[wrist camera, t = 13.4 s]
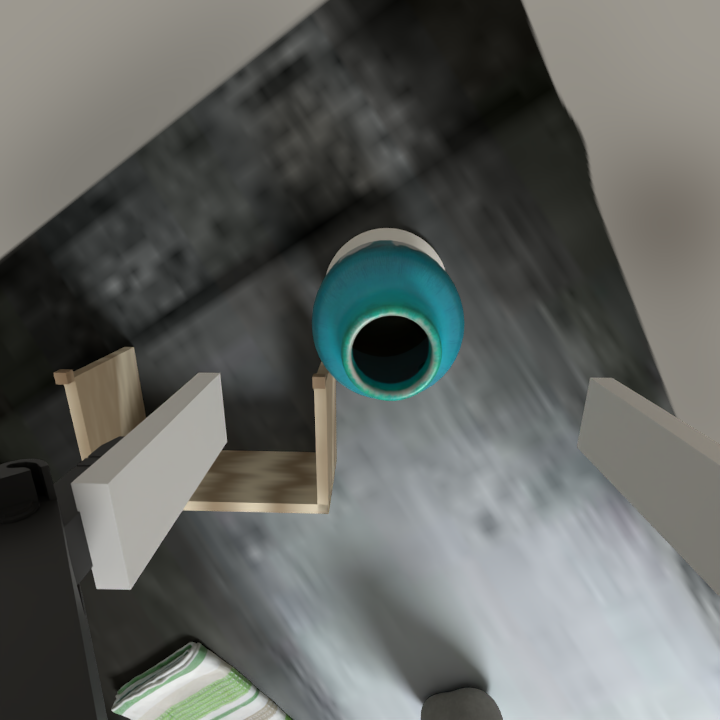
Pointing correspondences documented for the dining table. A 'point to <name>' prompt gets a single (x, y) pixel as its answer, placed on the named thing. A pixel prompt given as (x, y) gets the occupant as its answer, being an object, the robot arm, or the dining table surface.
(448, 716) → the vase
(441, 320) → the vase
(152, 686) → the dish towel
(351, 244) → the disc
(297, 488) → the light wood u-shaped piece
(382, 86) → the dining table surface
